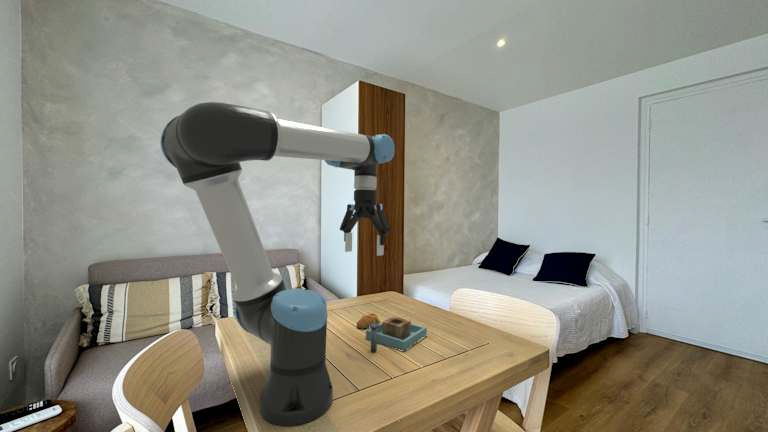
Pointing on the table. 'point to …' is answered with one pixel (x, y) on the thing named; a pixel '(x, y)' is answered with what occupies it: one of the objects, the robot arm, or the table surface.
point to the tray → (416, 334)
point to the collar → (397, 328)
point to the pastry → (367, 321)
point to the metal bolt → (374, 336)
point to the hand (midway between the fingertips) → (363, 253)
